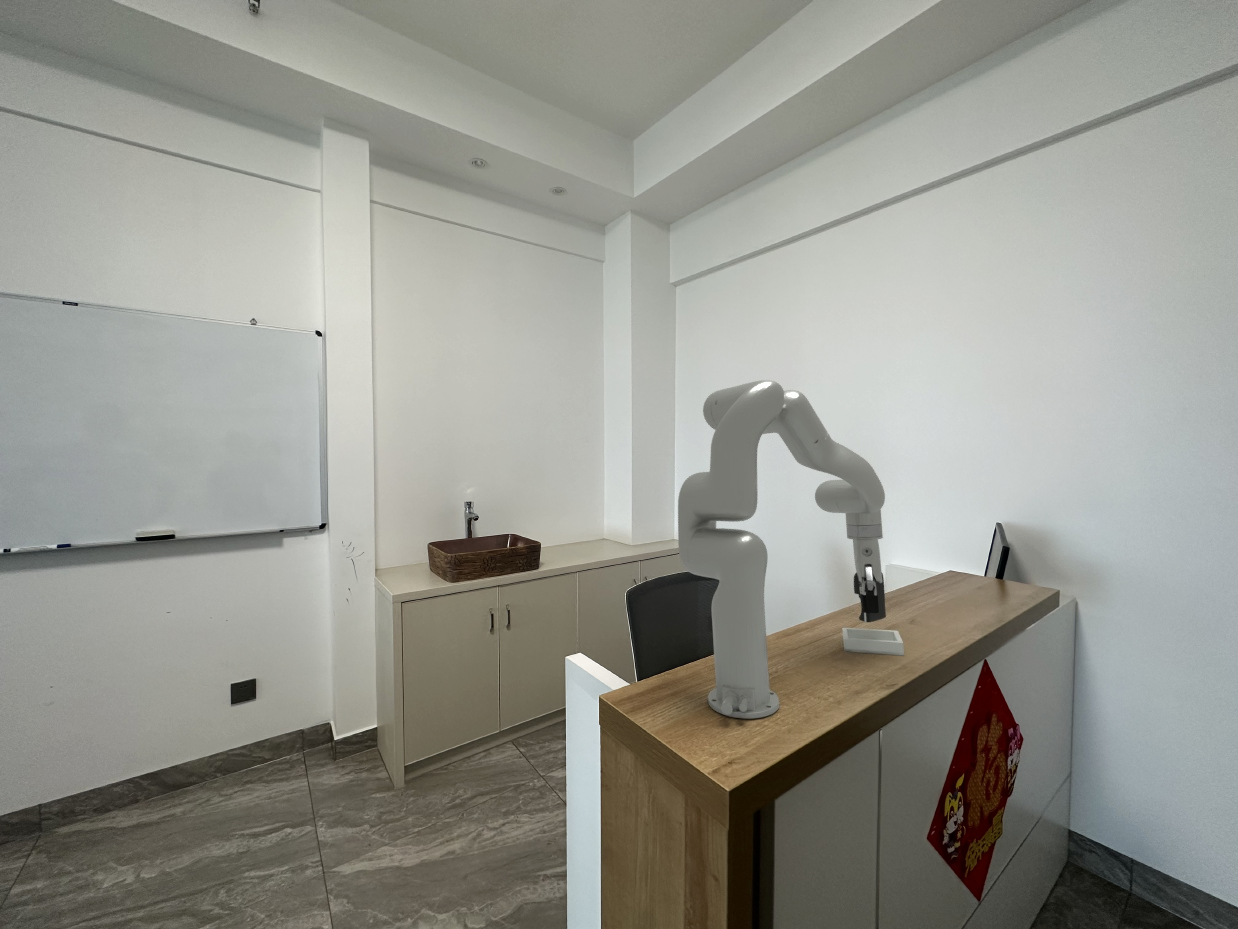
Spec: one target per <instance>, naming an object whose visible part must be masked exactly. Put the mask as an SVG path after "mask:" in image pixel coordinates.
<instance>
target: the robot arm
mask: <svg viewBox="0 0 1238 929" xmlns="http://www.w3.org/2000/svg"><path fill="white" fill-rule="evenodd" d="M702 412H703V413H702V414H703V417H704V419H705V422H706V424H707V425H708V426H709V427H710V428H711V429H713V430H714V432H713V435H712V439H711V444H710V461H709V462H710V464H709V465H710V466H709V471H702V472H700V471H699V472H696V473H693V474H691V475H690V476H688V477H687V478H686V479H685V480H684V481H683V483H682V485H681V487H680V490H679V494H678V499H677V500H678V501H677V526H678V527H677V534H678V535H677V536H678V538H677V541H678V543H677V544H678V554H679V559H680V562H681V564H682V566H683V568H684V569H685V570H686V571H687V572H688V573H690V574H693V575H695V576H700V577H704V578H711V579H714V580H718V582H719V583H718V586H717V588H716V590H715V592H714V593H713V597H712V600H711V622H712V623H711V624H712V638H713V639H712V640H713V657H714V659H713V661H714V676H715V688H712V689H711V691H709V693H708V695H707V702H708V705H709V707H710V708H711V709H713V710H714V711H716V712H717V713H719V714H721V715H724V716H726V717H731V718H736V719H744V720H746V719H749V720H751V719H760V718H766V717H768V716H771V715H773V714H774V713H775V712H777V711H778V709H779V708H780V698H779V696H778V695H777V693H776V692H774V691H773V690H772V689H770V680H769V679H770V678H769V677H770V676H769V658H768V644H767V642H768V641H767V628H766V627H767V626H766V625H767V624H766V610H765V607H766V606H765V583H766V574H767V567H768V550H767V546H766V544H765V542H764V541H763V539H762V538H761V537H760V536H758V535H757V534H756V533H753V532H751V531H749V530H743V529H738V528H719V527H718V528H717V522H729V523H730V522H733V523H734V522H735V523H736V522H744V521H747V520H750V519H751V518H752V517H754V515H755V514H756V511H757V507H758V496H759V495H758V447H759V443H760V440H761V437H762V435H765V434H778V435H779V437H780V438H781V440H782V441H783V443H784V445H785V446H786V447H787V449H788V450H789V452H790V453H791V455H792V456H793V459H794V460H795V461H796V462H797V463H798V464H799V465H801V466H803V467H806V468H809V469H811V470H813V471H817V472H821V473H825V474H828V475H831V476H834V477H837V478H839V479H832V480H831V479H830V480H826V481H824V482H822V483H820V484H819V485H818V486H817V488H816V490H815V493H814V499H815V502H816V503H815V504H816V505H817V506H818V507H819V508H820V509H821V510H822V511H825V512H828V513H832V514H845V524H846V525H845V526H846V538H847V539H849V540H852V544H853V545H852V546H853V547H852V548H853V556H854V557H853V558H854V566H855V573H856V572H857V575H858V579H859V581H860V582H861V583H862V587H863V594H862V603H863V612H864V613H879V605H878V595H877V590H876V581H879V583H882V574H883V572H882V564H881V562H882V561H881V552H880V545H879V544H880V543H879V540H882V539H884V536H883V534H884V533H883V525H882V522H883V521H882V508H883V506H884V505H885V500H886V494H885V489H884V486H883V484H882V482H881V479H880V478H879V476H878V475H877V473H876V471H875V469H874V468H873V466H872V465H871V464H870V462H868V460H866V459H865V458H864V457H862V456H861V455H859V454H858V453H857V452H854V451H853V450H852V449H850V448H848V447H846V446H845V445H842V444H841V443H839V442H836V441H835V440H833V438H832V437H831V436H830V434H829V433H828V431H827V429H826V428H825V426H824V424H823V422H822V421H821V419H820V418H819V416H818V414H817V413H816V411H815V409H814V407H813V406H812V405H811V403H810V401H809V399H808V397H807V396H805V394H804V393H802V392H800V391H799V390H793V389H786V390H784V388H783V386H782V385H781V384H780V383H778V382H777V381H775V380H770V379H768V380H767V379H762V380H757V381H751V382H748V383H742V384H739V385H735V386H732V387H728V388H726V387H725V388H723V389H720V390H716V391H714V392H712V393H710V395H707V398H706V399H705V401H704V403H703V407H702ZM864 578H866V579H867V581H864ZM875 579H876V581H875ZM865 584H867V585H866V586H865Z"/></svg>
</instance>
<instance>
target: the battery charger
mask: <svg viewBox="0 0 1238 929" xmlns="http://www.w3.org/2000/svg"><path fill="white" fill-rule="evenodd" d="M864 581H867V579H866V578H864ZM875 581H876V579H875ZM866 585H867V584H865V586H866ZM876 590H877V595H878V605H879V613H864V612H863V603H862V594H863V587H862V583H861V582H860V581H859V579H858V575H857V572H856V571H855V573H854V575H853V591H854V594H855V595H858V598H859V599H860V606H861V607H860V608H861V611H860V612H861V613H860V615H859V616H858V619H859V621H862V622H865V623H874V622H877V621H880V620H883V619H885V618H886V617H887V612H886V592H885V579H884V573H882V583H879V581H876Z"/></svg>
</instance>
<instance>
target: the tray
mask: <svg viewBox="0 0 1238 929" xmlns="http://www.w3.org/2000/svg"><path fill="white" fill-rule="evenodd" d="M841 629H842V642H843V651H844V653H845V652H848V653H861V654H862V653H863V654H873V655H875V654H876V655H889V656H890V655H891V656H902V657H904V656H905V650H904V647H905V646H904V641H903V639H902V637H901V635H900V632H899V630H894V629H893V630H890V629H889V630H888V629H877V628H876V629H875V628H874V629H873V628H872V629H871V628H854V627H842V628H841Z"/></svg>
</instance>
